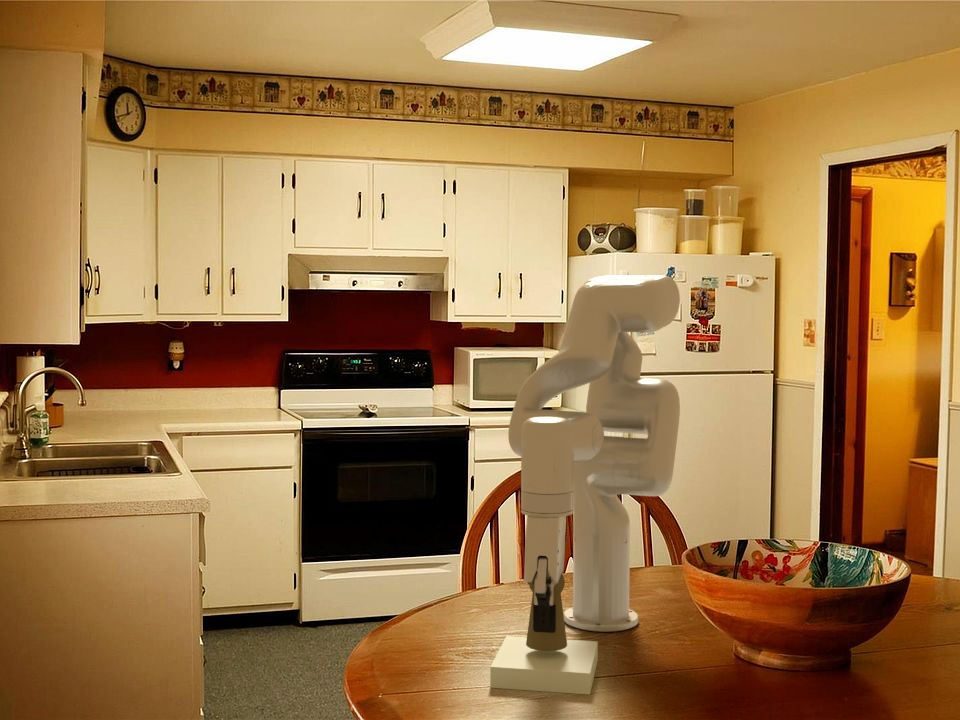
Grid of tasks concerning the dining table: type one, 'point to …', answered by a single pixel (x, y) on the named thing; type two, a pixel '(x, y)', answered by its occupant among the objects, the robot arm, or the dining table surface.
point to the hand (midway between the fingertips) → (546, 625)
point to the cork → (558, 638)
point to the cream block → (545, 667)
